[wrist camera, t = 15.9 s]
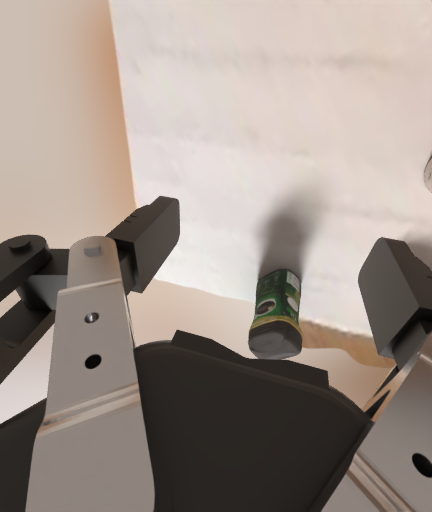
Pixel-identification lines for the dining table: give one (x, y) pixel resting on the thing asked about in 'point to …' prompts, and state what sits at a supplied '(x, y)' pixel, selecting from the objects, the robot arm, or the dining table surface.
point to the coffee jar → (276, 317)
